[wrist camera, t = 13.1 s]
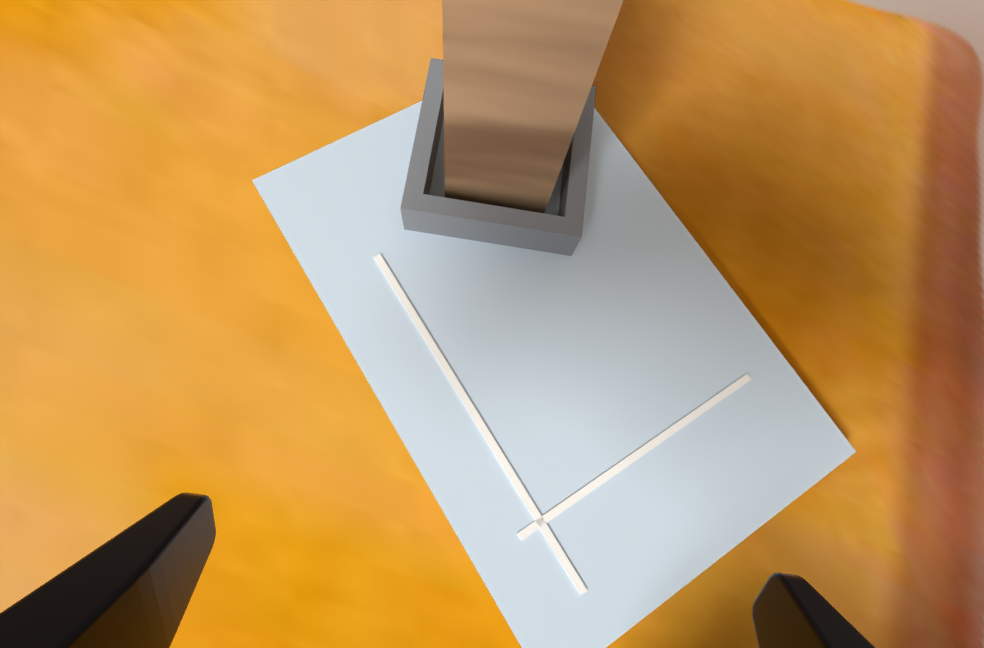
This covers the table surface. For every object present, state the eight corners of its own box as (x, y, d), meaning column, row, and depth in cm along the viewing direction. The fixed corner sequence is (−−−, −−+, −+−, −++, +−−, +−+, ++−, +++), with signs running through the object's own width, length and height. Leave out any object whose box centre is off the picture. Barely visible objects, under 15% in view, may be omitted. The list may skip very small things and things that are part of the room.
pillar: (542, 219, 24) (640, -48, 12) (444, 204, 24) (441, -83, 12) (551, 136, 26) (650, -186, 13) (459, 121, 25) (470, -219, 13)
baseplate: (842, 452, 23) (894, 449, 21) (544, 684, 20) (559, 717, 17) (539, 50, 28) (548, 4, 25) (254, 183, 24) (230, 148, 22)
